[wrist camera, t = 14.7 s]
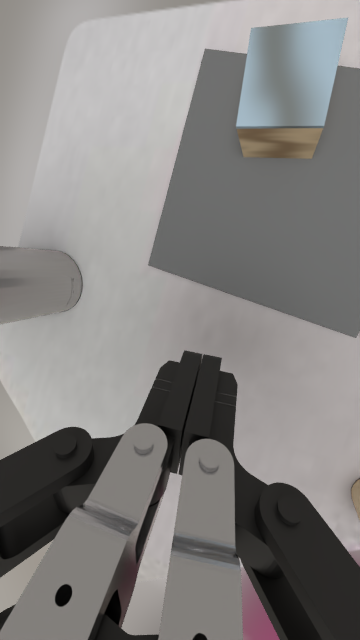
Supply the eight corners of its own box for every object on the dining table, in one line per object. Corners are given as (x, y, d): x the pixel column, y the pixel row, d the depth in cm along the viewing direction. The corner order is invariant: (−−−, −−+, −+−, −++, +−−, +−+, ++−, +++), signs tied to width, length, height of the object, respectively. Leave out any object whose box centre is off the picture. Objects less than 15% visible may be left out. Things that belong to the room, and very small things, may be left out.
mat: (149, 265, 36) (148, 265, 36) (205, 51, 30) (205, 48, 29) (354, 337, 30) (356, 338, 30) (484, 87, 23) (487, 84, 23)
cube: (251, 28, 22) (255, 83, 28) (235, 126, 23) (243, 157, 30) (348, 17, 20) (329, 79, 26) (324, 125, 21) (311, 158, 28)
